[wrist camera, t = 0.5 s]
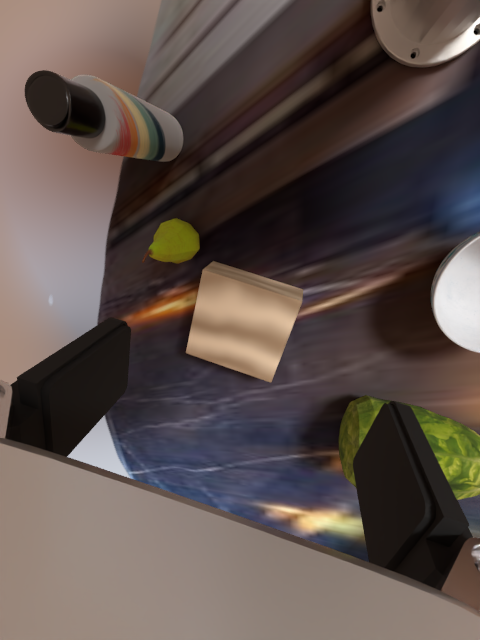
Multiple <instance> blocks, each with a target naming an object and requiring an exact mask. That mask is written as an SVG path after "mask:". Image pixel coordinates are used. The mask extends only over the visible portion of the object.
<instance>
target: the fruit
mask: <svg viewBox="0 0 480 640" xmlns="http://www.w3.org/2000/svg"><path fill="white" fill-rule="evenodd" d="M199 249H200V246H199V234H198V233H197V232H196V230H195V229H194V228H193V227H192V226H191V224H189V223H187V222H185V221H182V220H180V219H177V218H174V219H171V220H169V221H166V222H163V223H161V225H160V226H159V228H158V230H157V232H156V233H155V235H154V242H153V243H152V244H151V245H150V247H149V249H148V251H147V253H146V254H145V256H144V258H143V261H142V262H143V263H144V261H145V259H146V257H147V255H148V254H149V256H150V257H152V258H154V259H156V260H159V261H163V262H173V263H177V264H178V263H181V262H184V261H187V260H190V259H192V257H193V256H194V255H195V254H196V253H197V251H198V250H199Z"/></svg>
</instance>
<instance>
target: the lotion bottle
mask: <svg viewBox="0 0 480 640" xmlns="http://www.w3.org/2000/svg"><path fill="white" fill-rule="evenodd" d="M25 98H26V102H27V105H28V107H29V109H30V111H31V113H32V115H33V116H34V117H35V119H36V120H37V121H38V122H39V123H40V124H41V125H42V126H43V127H45V128H46V129H48V130H49V131H52V132H56V133H61V134H66V135H71V137H72V138H73V139H74V141H75V142H76V143H78V144H79V145H80V146H82V147H83V148H85V149H87V150H90V151H94V152H99V153H105V154H112V155H120V156H126V157H133V158H140V159H146V160H153V161H161V162H166V161H171V160H173V159H174V158H176V157H177V156H178V154H179V153H180V151H181V149H182V146H183V132H182V129H181V126H180V124H179V123H178V121H177V120H176V119H175V118H174V117H173V116H172V115H171V114H169V113H167V112H166V111H164V110H162V109H160V108H158V107H156V106H154V105H152V104H150V103H148V102H146V101H144V100H142V99H140V98H138V97H136V96H133V95H131V94H129V93H127V92H125V91H123V90H121V89H119V88H117V87H115V86H113V85H111V84H109V83H107V82H105V81H103V80H101V79H99V78H97V77H94V76H90V75H79V76H76V77H74V78H73V79H71V80H70V79H67V78H65V77H63V76H61V75H59V74H56V73H53V72H51V71H44V70H43V71H38V72H35V73H33V74H32V75H31V76H30V77H29V78H28V80H27V82H26V85H25Z"/></svg>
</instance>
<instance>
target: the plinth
mask: <svg viewBox="0 0 480 640" xmlns="http://www.w3.org/2000/svg"><path fill="white" fill-rule="evenodd" d="M302 298H303V289H300V288H297V287H294V286H291V285H287V284H284V283H281V282H278V281H275V280H272V279H268V278H265V277H262V276H259V275H256V274H253V273H250V272H246V271H243V270H240V269H237V268H234V267H231V266H228V265H224V264H221V263H218V262H215V261H213V262H212V263H210V264H209V265H208V266H207V267H205V268H204V269H203V271H202V276H201V281H200V286H199V291H198V295H197V300H196V305H195V310H194V315H193V320H192V325H191V330H190V335H189V339H188V344H187V349H186V353H187V354H190V355H193V356H196V357H199V358H201V359H204V360H207V361H210V362H213V363H216V364H219V365H222V366H225V367H227V368H230V369H233V370H236V371H239V372H242V373H245V374H248V375H251V376H254V377H256V378H259V379H262V380H265V381H268V382H271V381H272V379H273V376H274V374H275V371H276V368H277V366H278V363H279V361H280V358H281V355H282V353H283V350H284V348H285V345H286V342H287V340H288V337H289V335H290V332H291V330H292V327H293V324H294V322H295V319H296V317H297V314H298V311H299V309H300V306H301V304H302Z"/></svg>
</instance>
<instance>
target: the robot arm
mask: <svg viewBox="0 0 480 640" xmlns="http://www.w3.org/2000/svg"><path fill="white" fill-rule="evenodd" d="M378 8H381V9H382V12H378V11H377V9H378ZM371 18H372V26H373V29H374V32H375V35H376V38H377V40H378V42H379V43H380V45H381V47H382V49H383V50H384V51H385V52H386V53H387V54H388V55H389V56H390V57H391V58H392V59H394V60H396V61H397V62H399V63H400V64H404V65H407V66H410V67H420V68H425V67H431V66H437V65H440V64H442V63H445V62H448V61H450V60H452V59H454V58H456V57H457V56H459V55H461V54H463V53H464V52H465V51H467V50H468V49H469V48H471V47H472V46H473V45H474V44H476V43H477V42H478V41H479V40H480V0H371ZM474 30H476V31H477V35H475V34H474ZM411 54H414V55H415V58H414V59H412V58H411V57H410V56H411ZM130 336H131V329H130V327H128V326H127V323H126V322H125V321H122V320H118V319H115V318H108V319H107V320H105V321H103V322H102V323H100V324H99V325H97V326H96V327H94V328H93V329H91V330H90V331H88V332H86V333H85V334H84V335H82V336H81V337H79V338H77V339H76V340H74V341H72V342H71V343H69V344H68V345H66V346H65V347H63V348H62V349H60V350H59V351H57V352H56V353H54V354H52V355H51V356H49V357H48V358H46V359H45V360H43V361H41V362H40V363H39V364H37V365H35V366H34V367H32V368H31V369H29V370H28V371H26V372H24V373H23V374H21V375H20V376H18V377H17V381H16V382H14V383H13V384H11V385H9V384H8V383H7V382H4V381H2V380H0V640H480V538H477V537H474V538H473V537H472V534H471V532H470V530H469V528H468V526H469V523H468V521H467V519H466V517H465V515H464V513H463V511H462V509H461V507H460V505H459V503H458V501H457V499H456V497H455V495H454V493H453V491H452V489H451V487H450V485H449V483H448V481H447V479H446V477H445V475H444V472H443V470H442V468H441V466H440V464H439V462H438V460H437V458H436V456H435V454H434V452H433V450H432V448H431V446H430V444H429V442H428V440H427V438H426V436H425V434H424V432H423V430H422V428H421V426H420V424H419V422H418V420H417V418H416V416H415V414H414V412H413V410H412V408H411V407H410V406H409V405H405V404H402V403H398V402H395V401H390V402H389V403H388V404H387V403H384V404H383V405H382V407H381V409H380V411H379V412H378V414H377V416H376V418H375V420H374V422H373V423H372V425H371V427H370V429H369V431H368V433H367V434H366V436H365V438H364V440H363V442H362V444H361V445H360V447H359V449H358V451H357V453H356V455H355V457H354V460H353V471H354V477H355V482H356V488H357V494H358V500H359V505H360V511H361V517H362V523H363V529H364V534H365V540H366V546H367V552H368V557H369V562H366V561H364V560H361V559H358V558H356V557H353V556H350V555H348V554H345V553H342V552H339V551H336V550H334V549H331V548H328V547H325V546H322V545H319V544H317V543H314V542H311V541H308V540H305V539H303V538H300V537H297V536H294V535H291V534H288V533H286V532H283V531H280V530H277V529H274V528H271V527H269V526H266V525H263V524H260V523H257V522H254V521H252V520H249V519H246V518H243V517H240V516H237V515H234V514H231V513H229V512H226V511H223V510H220V509H217V508H214V507H211V506H209V505H206V504H203V503H200V502H197V501H194V500H191V499H188V498H185V497H183V496H180V495H177V494H174V493H171V492H168V491H165V490H162V489H159V488H157V487H154V486H151V485H148V484H145V483H142V482H139V481H136V480H133V479H130V478H127V477H124V476H121V475H118V474H116V473H113V472H110V471H107V470H104V469H101V468H98V467H95V466H92V465H89V464H86V463H83V462H80V461H77V460H74V459H71V458H68V457H67V456H68V455H69V454H70V453H71V452H72V450H73V449H74V448H75V447H76V446H77V445H78V444H79V443H80V442H81V440H82V439H83V438H84V437H85V436H86V435H87V434H88V433H89V432H90V430H91V429H92V428H93V427H94V426H95V425H96V424H97V423H98V422H99V420H100V419H101V418H102V417H103V416H104V415H105V414H106V413H107V412H108V410H109V409H110V408H111V407H112V406H113V405H114V404H115V403H116V401H117V400H118V399H119V398H120V397H121V396H122V395H123V394H124V392H125V390H126V388H127V383H128V367H129V351H130Z"/></svg>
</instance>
